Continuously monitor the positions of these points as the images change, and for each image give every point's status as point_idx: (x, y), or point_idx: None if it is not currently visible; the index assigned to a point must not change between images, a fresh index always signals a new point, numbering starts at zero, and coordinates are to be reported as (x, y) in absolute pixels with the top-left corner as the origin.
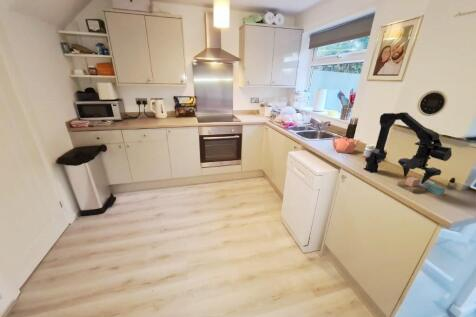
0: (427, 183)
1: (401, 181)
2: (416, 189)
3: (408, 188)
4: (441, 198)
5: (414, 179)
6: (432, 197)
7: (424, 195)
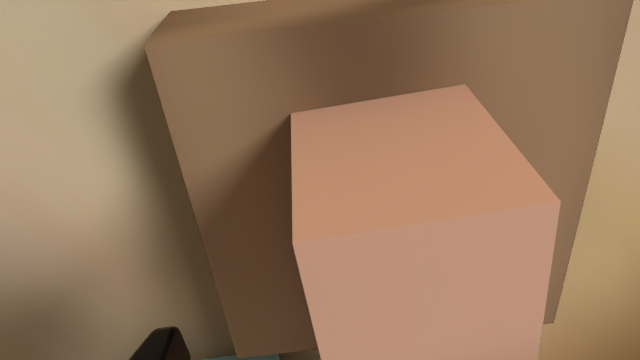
0: None
1: (597, 111)
2: (182, 141)
3: (282, 14)
4: (13, 338)
5: (356, 316)
6: (17, 246)
7: (76, 176)
